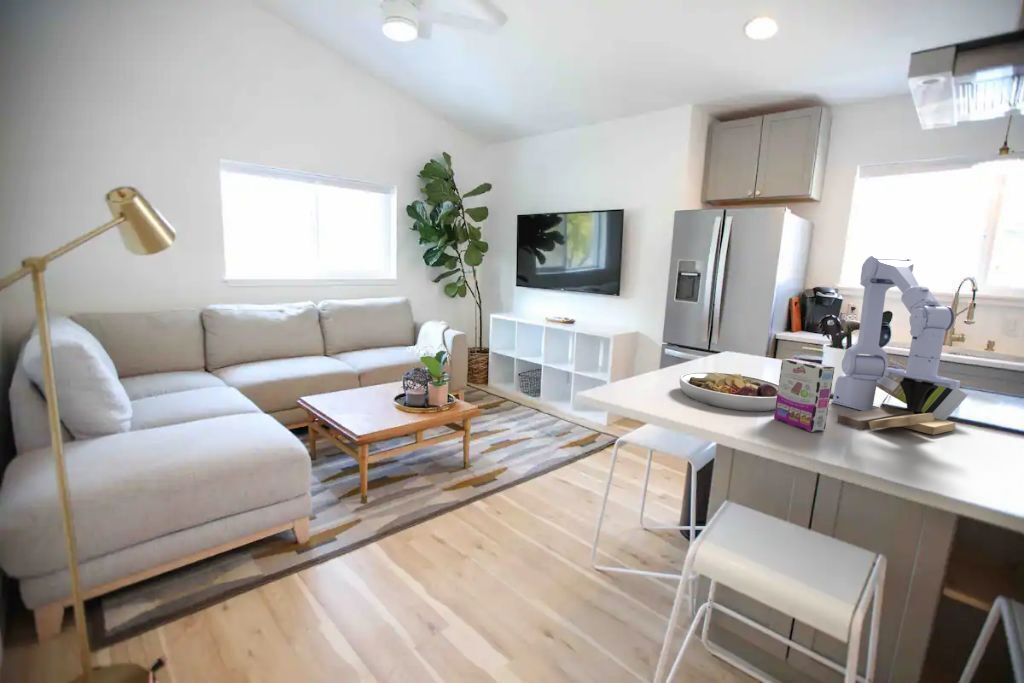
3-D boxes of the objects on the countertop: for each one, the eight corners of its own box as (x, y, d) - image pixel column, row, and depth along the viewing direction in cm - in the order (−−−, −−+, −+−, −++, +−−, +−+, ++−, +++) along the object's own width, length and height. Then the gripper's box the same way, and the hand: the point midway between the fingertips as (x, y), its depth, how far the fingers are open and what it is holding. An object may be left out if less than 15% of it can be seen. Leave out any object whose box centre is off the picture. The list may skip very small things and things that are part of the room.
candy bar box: (826, 431, 119) (836, 366, 116) (811, 433, 117) (821, 367, 114) (786, 417, 129) (795, 357, 127) (772, 418, 127) (781, 358, 125)
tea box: (917, 409, 144) (868, 382, 147) (941, 382, 141) (891, 355, 144) (942, 424, 130) (888, 394, 133) (970, 394, 127) (914, 364, 130)
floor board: (837, 421, 127) (838, 413, 127) (887, 413, 138) (888, 405, 137) (861, 429, 122) (863, 420, 121) (912, 419, 132) (913, 411, 132)
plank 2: (891, 424, 127) (892, 417, 126) (912, 420, 131) (913, 413, 131) (933, 434, 119) (934, 427, 118) (954, 429, 123) (955, 422, 123)
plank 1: (870, 429, 121) (868, 421, 122) (893, 424, 126) (891, 417, 126) (911, 425, 113) (908, 417, 114) (934, 420, 118) (931, 412, 118)
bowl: (657, 389, 153) (660, 365, 152) (725, 383, 166) (728, 361, 164) (735, 419, 126) (739, 390, 125) (810, 409, 139) (814, 383, 138)
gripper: (881, 351, 120) (871, 403, 122) (953, 363, 107) (942, 421, 109) (896, 350, 123) (887, 401, 125) (969, 361, 110) (957, 418, 112)
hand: (914, 410), depth 117 cm, fingers closed
